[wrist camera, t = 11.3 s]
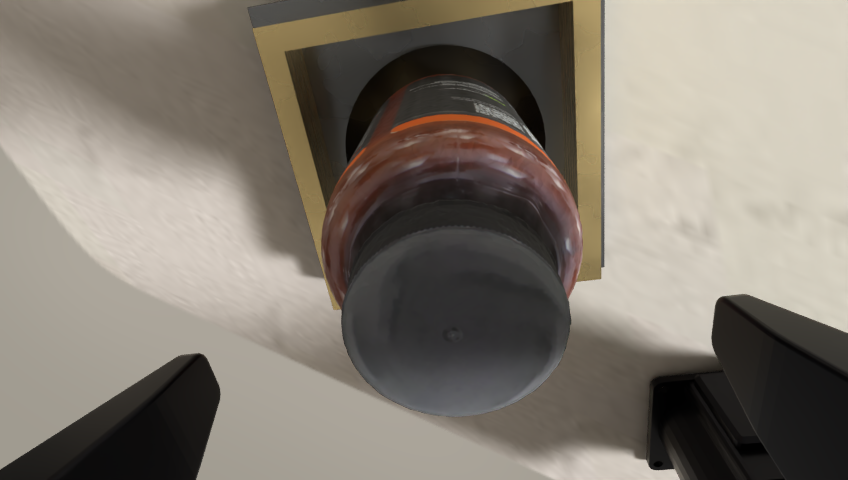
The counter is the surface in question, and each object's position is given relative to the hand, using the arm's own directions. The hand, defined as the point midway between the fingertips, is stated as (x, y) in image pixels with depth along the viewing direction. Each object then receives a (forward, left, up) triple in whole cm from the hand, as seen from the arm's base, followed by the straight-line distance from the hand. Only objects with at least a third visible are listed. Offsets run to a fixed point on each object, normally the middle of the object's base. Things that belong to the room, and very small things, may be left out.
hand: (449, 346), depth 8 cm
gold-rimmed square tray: (0, 0, -13) cm, 13 cm away
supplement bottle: (0, 0, -11) cm, 11 cm away
